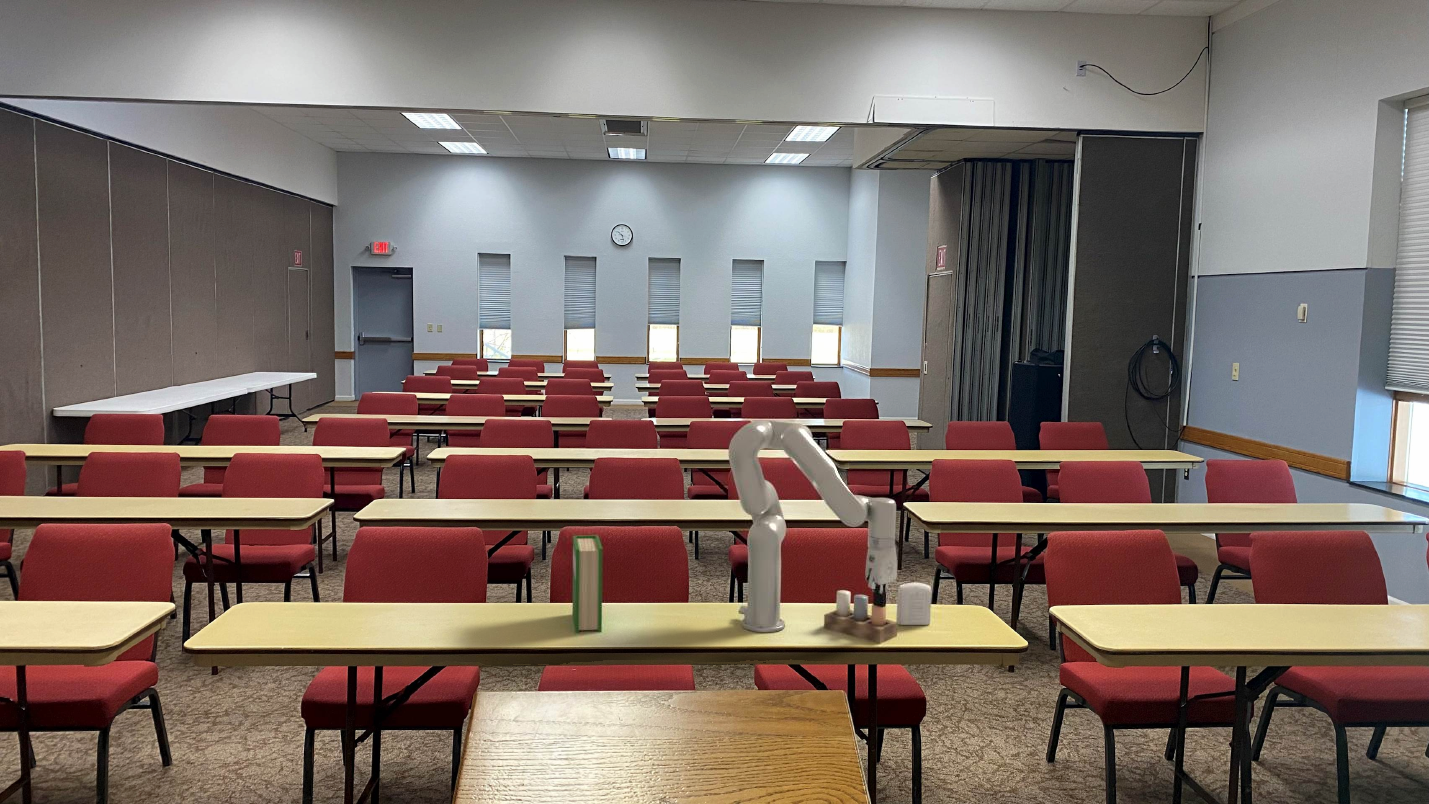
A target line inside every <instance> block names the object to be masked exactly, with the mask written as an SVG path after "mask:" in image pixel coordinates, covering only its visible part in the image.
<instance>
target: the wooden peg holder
mask: <svg viewBox="0 0 1429 804" xmlns="http://www.w3.org/2000/svg"><path fill="white" fill-rule="evenodd" d="M871 615H872V614H868V619H867V621H865V622H860V621H857V620H853V617H854V610H851V609H850V616H848V617H842V616H838V615H836V609H835V610H833V611H830V612H827V613H825V614H824V616H823V628H824V629H827V630H830V631H833V632H838V633H842V634H843V635H848V636H852V637H855V636H856V637H855V638H859V639H862V640H865V641H866V640H867V641H870V642H873V643H876V642H877V643H876V644H883V643H885V642H887V641H889V640H891V639H894V638H896V637H898V624H897V622H896V621H893V620H889V619H886V625H885V626H883V627H879V626H875V625H872V624H871Z"/></svg>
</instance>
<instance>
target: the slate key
mask: <svg viewBox="0 0 1429 804" xmlns="http://www.w3.org/2000/svg"><path fill="white" fill-rule="evenodd" d="M853 611H854V617H853V620H857V621H860V622H865V621H867V619H868V615H869V596H868V595H866V594H854V596H853Z"/></svg>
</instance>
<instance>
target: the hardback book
mask: <svg viewBox="0 0 1429 804" xmlns="http://www.w3.org/2000/svg"><path fill="white" fill-rule="evenodd" d="M572 541H573V542H572V612H571V613H572V619H573V620H572V621H573V628H574V633H575V634H579V633H580V631H589V630H590V631H591V630H592V631H594V630H597V633H602V631H603V627H602V626H603V625H602V624H603V622H602V621H603V555H604V553H603V549H604V548H603V546H602V542H601V540H600V536H599V535H598V534H597V535H596V534H593V535H592V534H590V535H588V534H587V535H573V536H572Z"/></svg>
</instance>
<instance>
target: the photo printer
mask: <svg viewBox="0 0 1429 804" xmlns="http://www.w3.org/2000/svg"><path fill="white" fill-rule="evenodd" d="M896 599H897V601H896V619H895V622H897V625H899V626H917V625H918V626H923V625H924V626H925V625H927V626H928V625H929V626H930V624H931V611H932V610H931V608H932V587H931V586H930V585H929V584H926V583H921V582H907V583H903V584H901V585H899V586H898V588H897V598H896Z"/></svg>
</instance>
